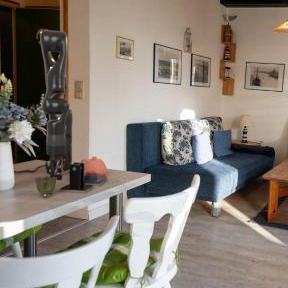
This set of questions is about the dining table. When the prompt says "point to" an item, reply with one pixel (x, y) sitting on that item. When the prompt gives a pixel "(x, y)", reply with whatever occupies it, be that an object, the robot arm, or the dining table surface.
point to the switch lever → (64, 172)
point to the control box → (94, 179)
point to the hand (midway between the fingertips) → (56, 181)
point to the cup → (45, 185)
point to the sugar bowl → (95, 166)
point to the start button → (90, 173)
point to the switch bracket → (76, 178)
